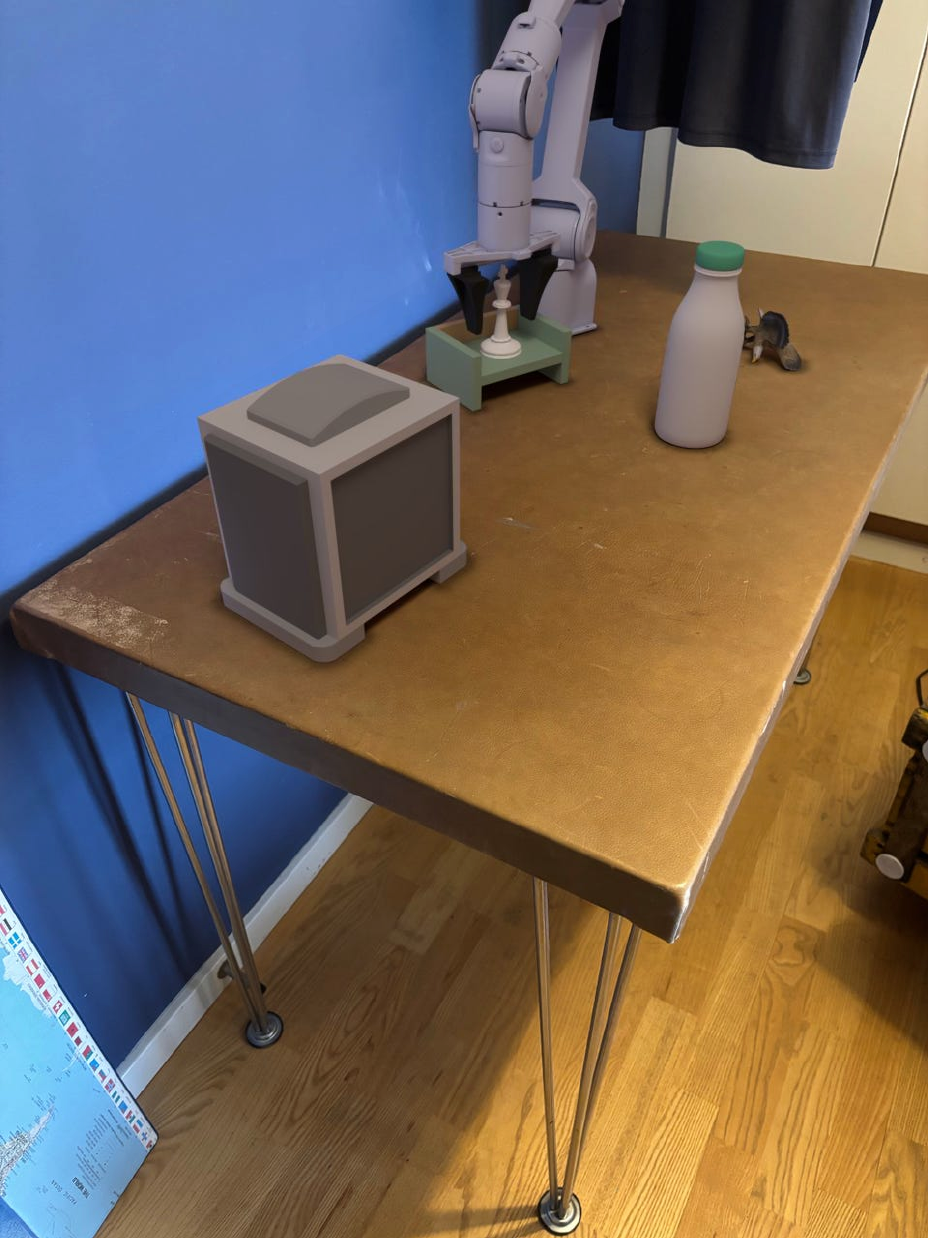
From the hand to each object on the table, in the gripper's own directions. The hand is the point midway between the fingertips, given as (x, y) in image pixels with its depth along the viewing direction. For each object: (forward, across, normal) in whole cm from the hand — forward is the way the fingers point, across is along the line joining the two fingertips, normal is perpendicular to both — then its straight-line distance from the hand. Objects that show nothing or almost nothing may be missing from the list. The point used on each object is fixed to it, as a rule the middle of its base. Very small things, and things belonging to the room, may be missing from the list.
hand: (501, 324), depth 106 cm
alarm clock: (+7, -34, -25) cm, 43 cm away
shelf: (+7, 0, 0) cm, 7 cm away
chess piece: (+3, 0, 0) cm, 3 cm away
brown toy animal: (+7, +32, -13) cm, 35 cm away
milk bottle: (+7, +10, -22) cm, 25 cm away
